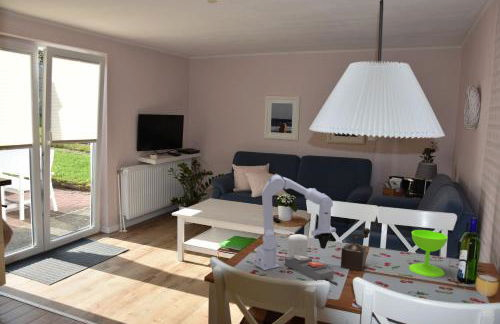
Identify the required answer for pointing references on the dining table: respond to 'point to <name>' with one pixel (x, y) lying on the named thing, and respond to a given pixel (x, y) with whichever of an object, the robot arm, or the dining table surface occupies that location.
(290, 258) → the power strip
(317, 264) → the red rocker
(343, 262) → the manual coffee grinder
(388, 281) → the dining table surface
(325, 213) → the robot arm
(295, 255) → the grey rocker
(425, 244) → the wineglass
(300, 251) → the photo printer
